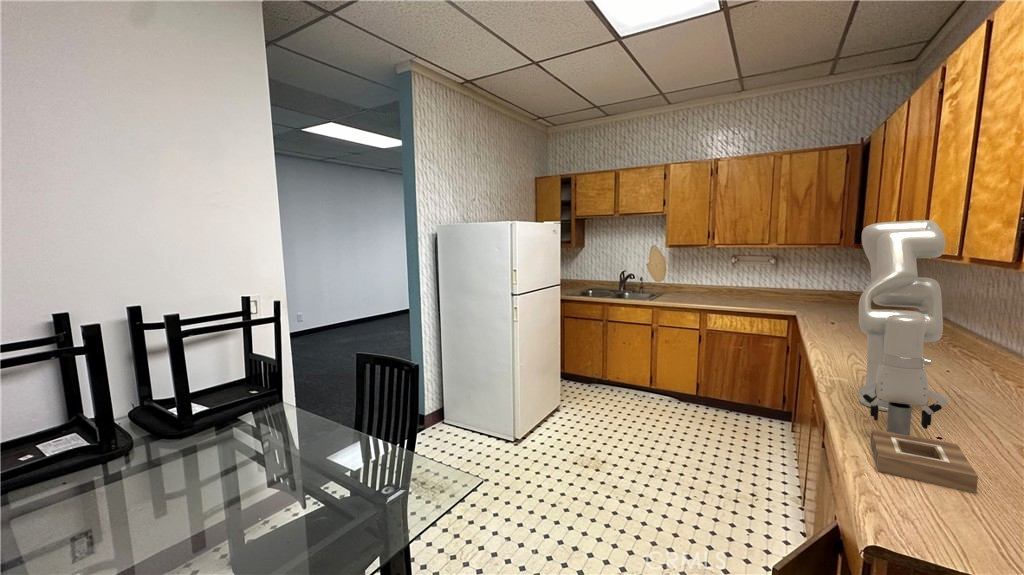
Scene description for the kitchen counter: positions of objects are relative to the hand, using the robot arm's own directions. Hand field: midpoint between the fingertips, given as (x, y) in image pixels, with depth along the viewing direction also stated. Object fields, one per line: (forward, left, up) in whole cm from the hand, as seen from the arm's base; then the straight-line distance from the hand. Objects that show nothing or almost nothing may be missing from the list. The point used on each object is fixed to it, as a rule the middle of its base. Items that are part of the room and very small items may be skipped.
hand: (899, 422), depth 109 cm
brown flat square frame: (+12, +2, -5) cm, 14 cm away
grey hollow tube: (-1, 0, -6) cm, 6 cm away
